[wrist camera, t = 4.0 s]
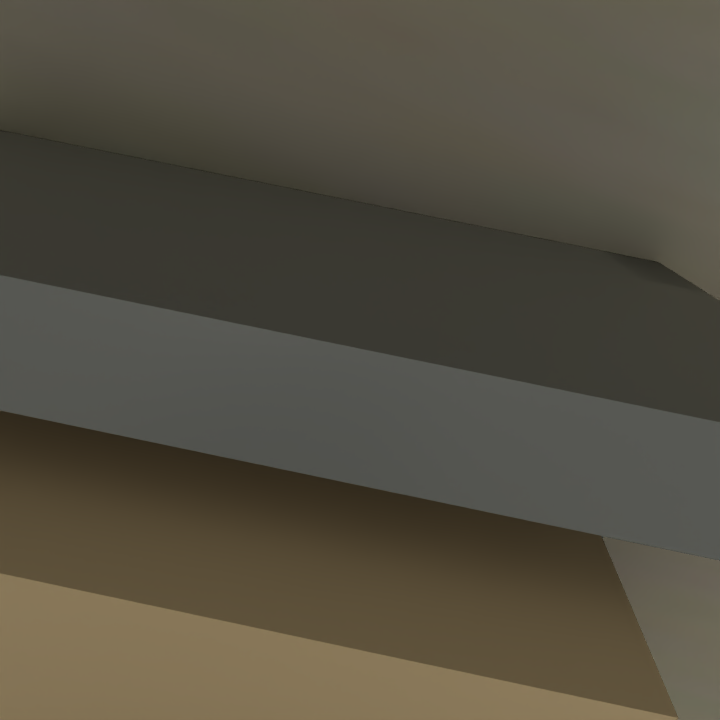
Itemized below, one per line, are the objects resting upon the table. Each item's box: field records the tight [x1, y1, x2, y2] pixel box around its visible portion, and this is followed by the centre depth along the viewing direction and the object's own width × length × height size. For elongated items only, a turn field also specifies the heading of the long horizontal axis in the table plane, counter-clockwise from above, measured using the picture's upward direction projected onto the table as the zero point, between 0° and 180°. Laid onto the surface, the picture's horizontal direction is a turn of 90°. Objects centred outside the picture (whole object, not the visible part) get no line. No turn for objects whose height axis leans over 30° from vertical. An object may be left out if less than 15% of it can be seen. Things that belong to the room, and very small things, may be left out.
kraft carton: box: [0, 411, 678, 720], centre depth 9 cm, size 4×9×8 cm, turn 79°
